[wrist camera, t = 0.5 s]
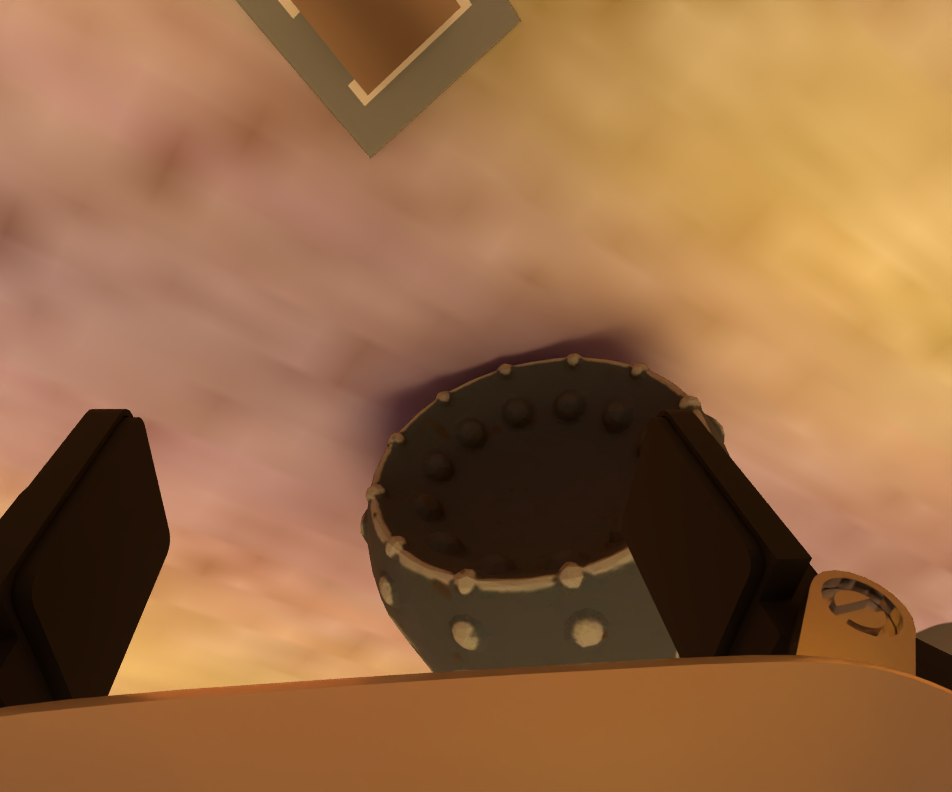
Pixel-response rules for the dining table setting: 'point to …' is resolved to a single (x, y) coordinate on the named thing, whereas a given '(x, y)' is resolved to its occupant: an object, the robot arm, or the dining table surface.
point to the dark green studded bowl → (521, 518)
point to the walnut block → (375, 32)
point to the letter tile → (406, 86)
